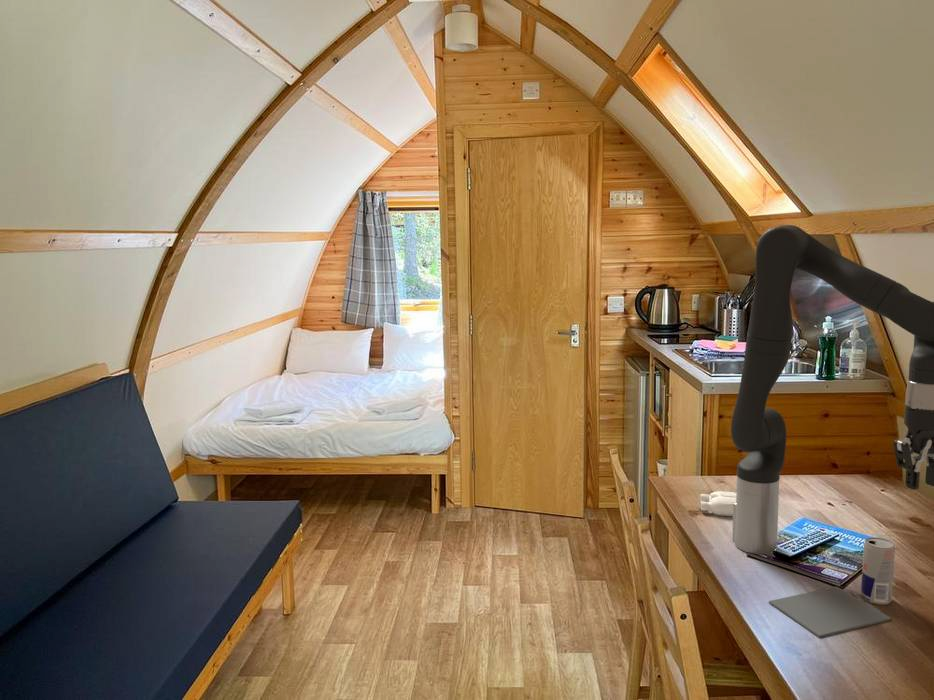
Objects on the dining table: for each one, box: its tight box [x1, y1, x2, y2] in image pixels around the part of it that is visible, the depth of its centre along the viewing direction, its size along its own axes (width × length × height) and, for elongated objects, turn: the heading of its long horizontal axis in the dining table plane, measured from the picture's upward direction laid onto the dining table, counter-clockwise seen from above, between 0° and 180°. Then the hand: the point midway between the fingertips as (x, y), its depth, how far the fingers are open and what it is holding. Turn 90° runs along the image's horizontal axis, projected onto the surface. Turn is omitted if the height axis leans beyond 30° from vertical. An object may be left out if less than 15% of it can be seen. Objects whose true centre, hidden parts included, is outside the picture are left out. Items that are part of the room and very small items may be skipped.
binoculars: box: [700, 491, 736, 517], centre depth 185 cm, size 10×16×5 cm, turn 72°
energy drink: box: [860, 536, 896, 606], centre depth 138 cm, size 5×5×12 cm
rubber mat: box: [768, 586, 892, 638], centre depth 135 cm, size 13×17×1 cm
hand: (921, 486), depth 138 cm, fingers open, 4 cm apart
